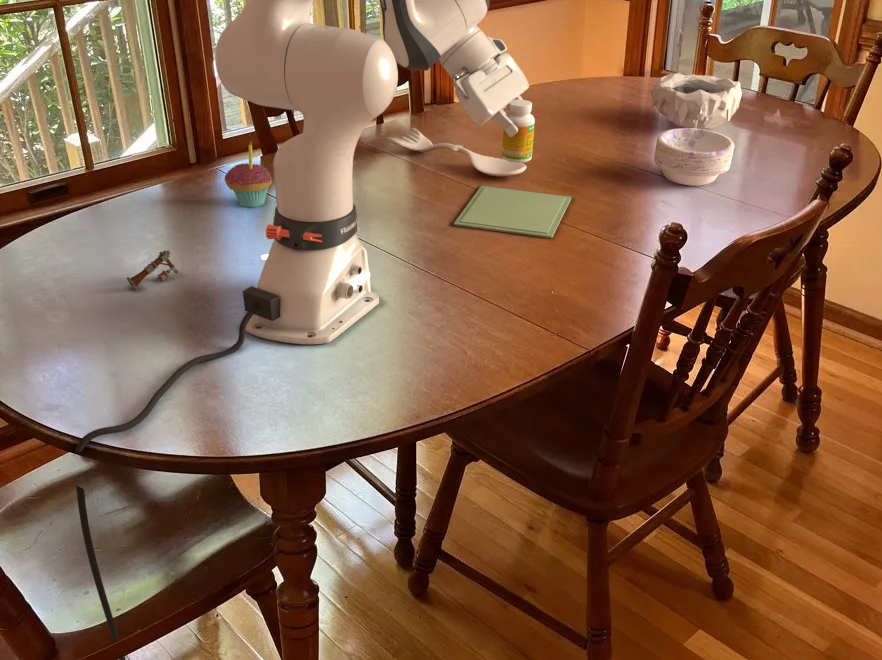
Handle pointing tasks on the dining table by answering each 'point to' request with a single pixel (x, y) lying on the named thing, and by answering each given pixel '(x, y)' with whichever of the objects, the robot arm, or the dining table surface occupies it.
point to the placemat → (514, 211)
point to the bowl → (696, 99)
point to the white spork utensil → (479, 161)
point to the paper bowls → (693, 155)
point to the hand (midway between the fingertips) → (522, 128)
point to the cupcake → (249, 182)
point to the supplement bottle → (519, 133)
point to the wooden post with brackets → (151, 267)
